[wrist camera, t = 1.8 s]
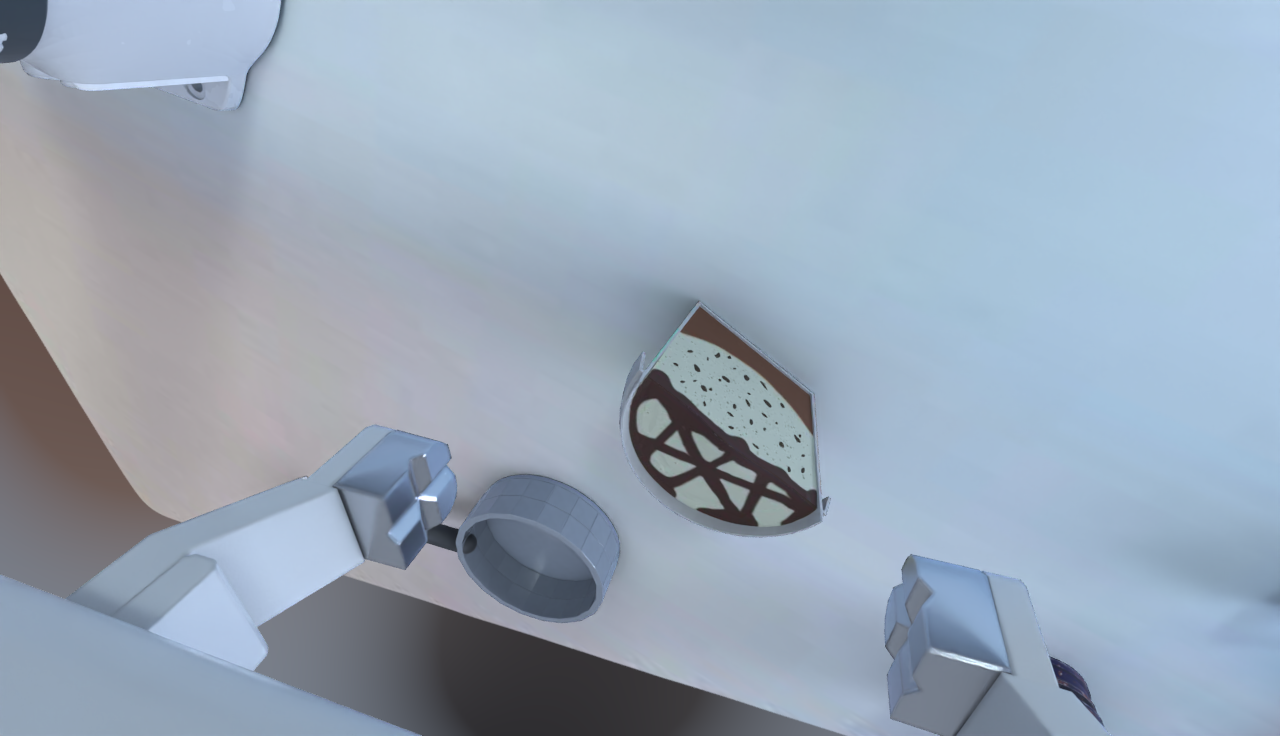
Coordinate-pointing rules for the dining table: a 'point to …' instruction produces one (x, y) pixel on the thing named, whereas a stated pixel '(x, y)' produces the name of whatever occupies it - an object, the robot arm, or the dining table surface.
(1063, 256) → the dining table surface
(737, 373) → the food container
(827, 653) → the dining table surface
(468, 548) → the saucepan handle
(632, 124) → the dining table surface
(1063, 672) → the storage jar
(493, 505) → the saucepan
